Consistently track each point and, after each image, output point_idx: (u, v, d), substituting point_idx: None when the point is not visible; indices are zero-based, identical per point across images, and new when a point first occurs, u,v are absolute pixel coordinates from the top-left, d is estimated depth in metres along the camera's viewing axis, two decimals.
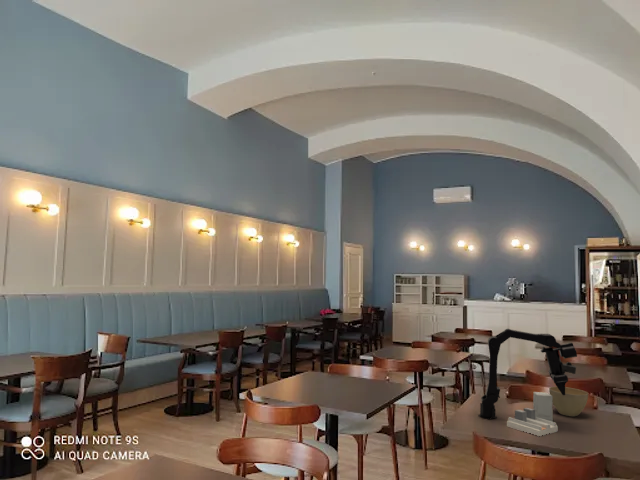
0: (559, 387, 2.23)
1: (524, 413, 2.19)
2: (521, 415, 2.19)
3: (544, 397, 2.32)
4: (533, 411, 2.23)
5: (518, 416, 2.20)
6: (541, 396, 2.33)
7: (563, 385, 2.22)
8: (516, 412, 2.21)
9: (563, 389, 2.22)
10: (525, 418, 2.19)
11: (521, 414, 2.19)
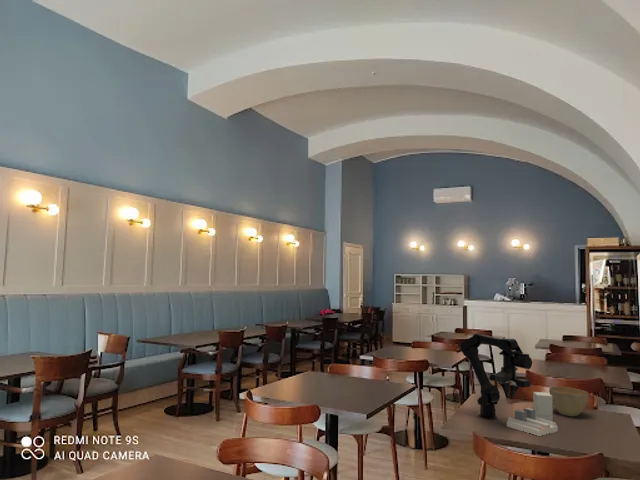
0: None
1: (524, 413, 2.19)
2: (521, 415, 2.19)
3: (544, 397, 2.32)
4: (533, 411, 2.23)
5: (518, 416, 2.20)
6: (541, 396, 2.33)
7: None
8: (516, 412, 2.21)
9: None
10: (525, 418, 2.19)
11: (521, 414, 2.19)
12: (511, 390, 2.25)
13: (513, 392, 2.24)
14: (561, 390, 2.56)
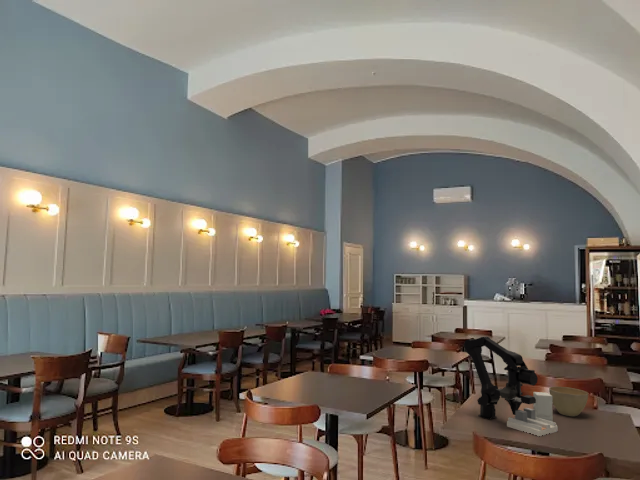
0: None
1: (525, 413, 2.19)
2: (522, 415, 2.19)
3: (544, 397, 2.32)
4: (533, 411, 2.23)
5: (518, 416, 2.20)
6: (541, 396, 2.33)
7: None
8: (517, 412, 2.21)
9: None
10: (526, 418, 2.19)
11: (522, 414, 2.19)
12: (514, 406, 2.23)
13: (516, 408, 2.23)
14: (561, 390, 2.56)
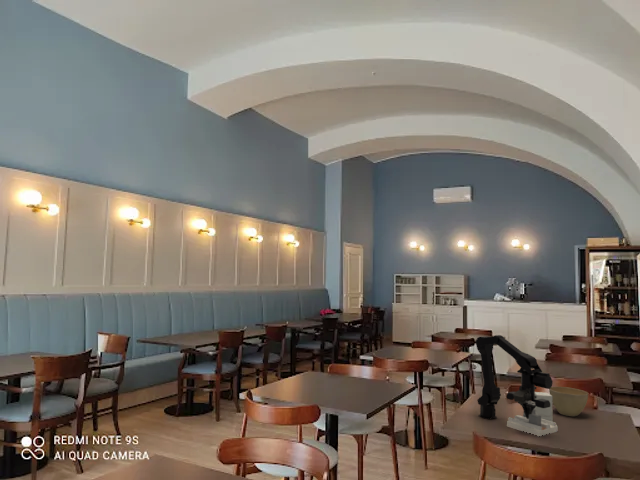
0: None
1: (538, 417, 2.13)
2: (535, 419, 2.13)
3: (544, 397, 2.32)
4: (533, 411, 2.23)
5: (532, 420, 2.14)
6: (541, 396, 2.33)
7: None
8: (530, 416, 2.15)
9: None
10: (539, 422, 2.14)
11: (535, 418, 2.13)
12: (527, 409, 2.17)
13: (530, 412, 2.17)
14: (561, 390, 2.56)
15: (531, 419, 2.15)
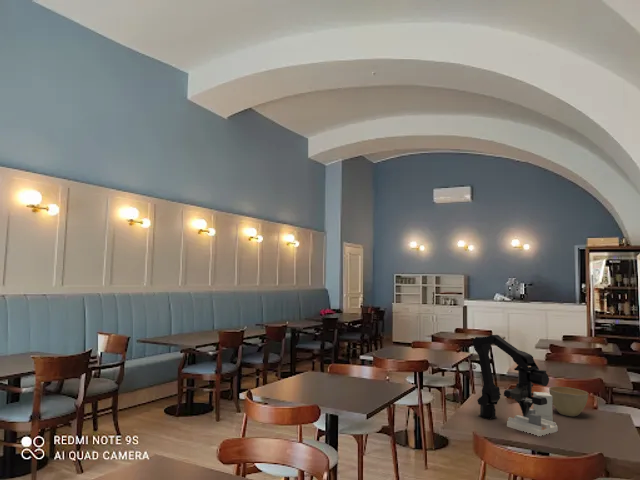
0: None
1: (538, 417, 2.13)
2: (535, 419, 2.13)
3: None
4: (533, 411, 2.23)
5: (532, 420, 2.14)
6: (541, 396, 2.33)
7: None
8: (530, 416, 2.15)
9: None
10: (539, 422, 2.14)
11: (535, 418, 2.13)
12: (524, 406, 2.18)
13: (527, 409, 2.18)
14: (561, 390, 2.56)
15: (531, 419, 2.15)
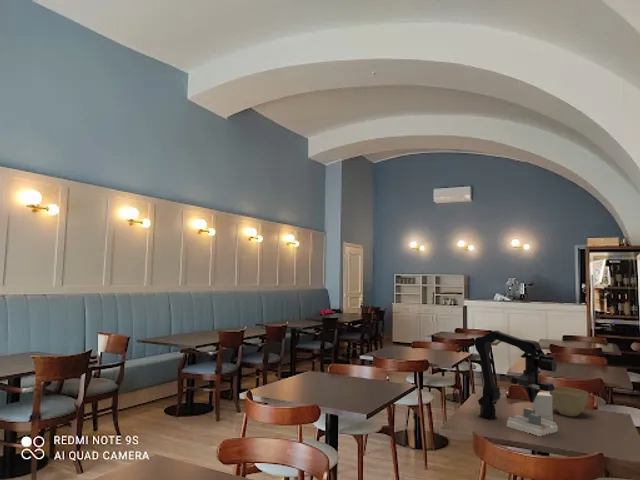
0: None
1: (538, 417, 2.13)
2: (535, 419, 2.13)
3: (544, 397, 2.32)
4: (533, 411, 2.23)
5: (532, 420, 2.14)
6: (541, 396, 2.33)
7: None
8: (530, 416, 2.15)
9: None
10: (539, 422, 2.14)
11: (535, 418, 2.13)
12: (531, 393, 2.19)
13: (534, 395, 2.19)
14: (561, 390, 2.56)
15: (531, 419, 2.15)
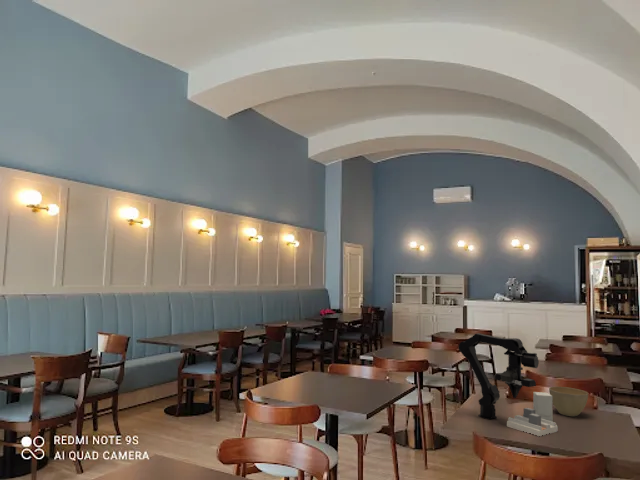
0: None
1: (538, 417, 2.13)
2: (535, 419, 2.13)
3: (544, 397, 2.32)
4: (533, 411, 2.23)
5: (532, 420, 2.14)
6: (541, 396, 2.33)
7: None
8: (530, 416, 2.15)
9: None
10: (539, 422, 2.14)
11: (535, 418, 2.13)
12: (514, 389, 2.27)
13: (516, 391, 2.27)
14: (561, 390, 2.56)
15: (531, 419, 2.15)
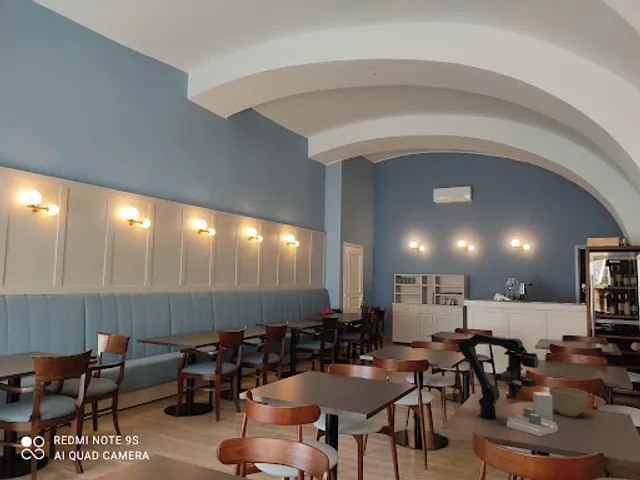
0: None
1: (538, 417, 2.13)
2: (535, 419, 2.13)
3: (544, 397, 2.32)
4: (533, 411, 2.23)
5: (532, 420, 2.14)
6: (541, 396, 2.33)
7: None
8: (530, 416, 2.15)
9: None
10: (539, 422, 2.14)
11: (535, 418, 2.13)
12: (514, 389, 2.27)
13: (516, 391, 2.27)
14: (561, 390, 2.56)
15: (531, 419, 2.15)
